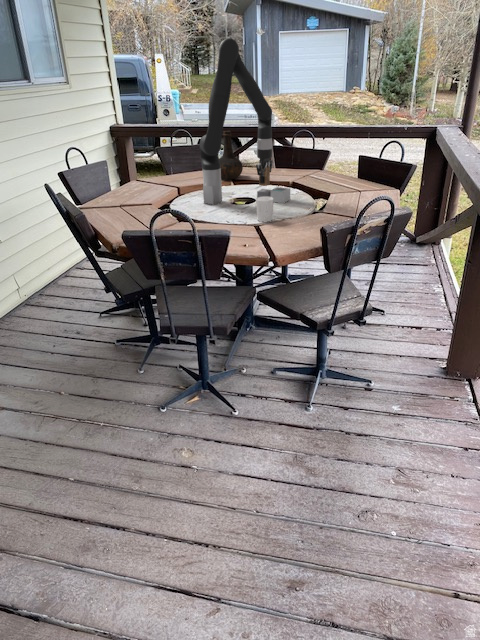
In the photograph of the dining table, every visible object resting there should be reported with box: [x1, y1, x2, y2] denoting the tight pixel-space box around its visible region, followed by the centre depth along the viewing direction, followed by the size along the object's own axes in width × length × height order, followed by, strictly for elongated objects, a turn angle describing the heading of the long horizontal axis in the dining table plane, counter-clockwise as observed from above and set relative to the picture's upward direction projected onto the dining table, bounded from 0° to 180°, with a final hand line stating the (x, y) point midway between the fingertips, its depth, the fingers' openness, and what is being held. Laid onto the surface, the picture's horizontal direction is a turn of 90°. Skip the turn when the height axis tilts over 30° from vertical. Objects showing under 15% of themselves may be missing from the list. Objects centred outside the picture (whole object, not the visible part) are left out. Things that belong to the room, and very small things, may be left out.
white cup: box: [255, 196, 274, 222], centre depth 222 cm, size 8×8×10 cm
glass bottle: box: [219, 130, 244, 181], centre depth 297 cm, size 18×18×28 cm
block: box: [258, 167, 271, 187], centre depth 251 cm, size 4×4×9 cm
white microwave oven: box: [270, 186, 291, 204], centre depth 251 cm, size 8×8×6 cm
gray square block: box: [256, 188, 272, 198], centre depth 256 cm, size 6×6×4 cm
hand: (264, 182), depth 253 cm, fingers closed on block, 4 cm apart
